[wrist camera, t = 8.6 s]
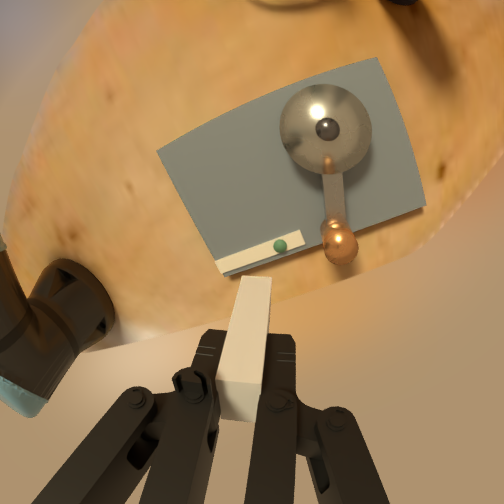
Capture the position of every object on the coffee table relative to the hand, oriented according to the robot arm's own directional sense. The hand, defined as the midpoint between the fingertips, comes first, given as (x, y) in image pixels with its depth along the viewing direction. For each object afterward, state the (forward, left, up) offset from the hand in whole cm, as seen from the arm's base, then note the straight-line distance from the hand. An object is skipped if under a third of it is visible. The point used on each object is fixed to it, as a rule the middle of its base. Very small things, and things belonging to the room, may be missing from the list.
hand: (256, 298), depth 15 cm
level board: (+3, +2, -17) cm, 17 cm away
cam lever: (+6, +2, -15) cm, 16 cm away
